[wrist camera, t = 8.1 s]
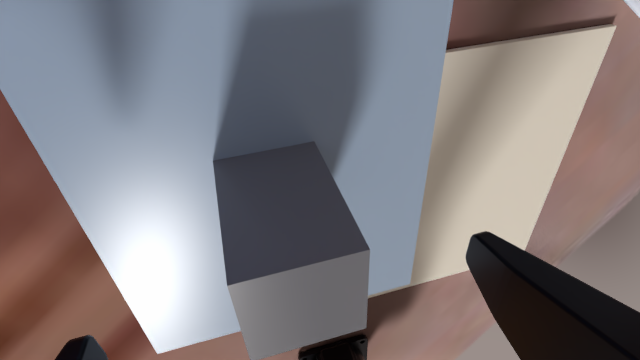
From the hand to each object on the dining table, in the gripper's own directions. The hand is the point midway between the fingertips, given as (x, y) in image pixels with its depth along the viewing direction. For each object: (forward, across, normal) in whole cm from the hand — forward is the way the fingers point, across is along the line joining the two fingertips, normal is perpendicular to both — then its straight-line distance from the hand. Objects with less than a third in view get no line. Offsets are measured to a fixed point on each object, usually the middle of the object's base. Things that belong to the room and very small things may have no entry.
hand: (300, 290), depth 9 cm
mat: (+13, -14, +10) cm, 21 cm away
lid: (+5, 0, 0) cm, 5 cm away
